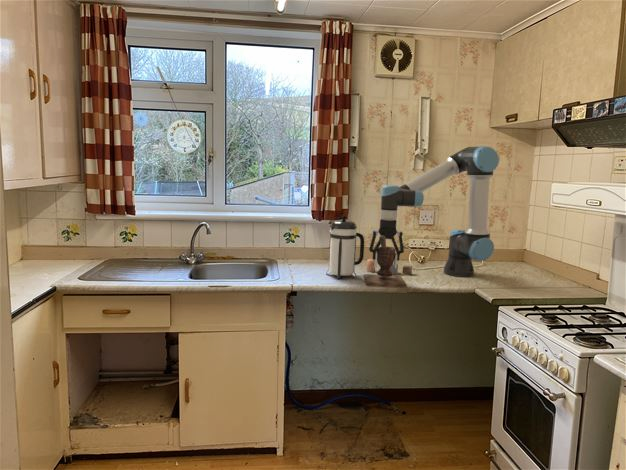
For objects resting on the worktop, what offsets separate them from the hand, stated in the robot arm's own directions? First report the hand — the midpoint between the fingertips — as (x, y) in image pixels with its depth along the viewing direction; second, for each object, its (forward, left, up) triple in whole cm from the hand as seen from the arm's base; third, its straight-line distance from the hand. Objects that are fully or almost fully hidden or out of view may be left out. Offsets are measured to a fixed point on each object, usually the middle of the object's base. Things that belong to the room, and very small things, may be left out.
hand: (385, 267), depth 212 cm
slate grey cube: (-6, -19, -7) cm, 21 cm away
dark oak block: (-14, -18, -7) cm, 24 cm away
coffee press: (+19, -9, -7) cm, 22 cm away
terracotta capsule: (+4, -21, -7) cm, 23 cm away
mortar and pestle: (0, 0, -5) cm, 5 cm away
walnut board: (0, 0, -7) cm, 7 cm away
